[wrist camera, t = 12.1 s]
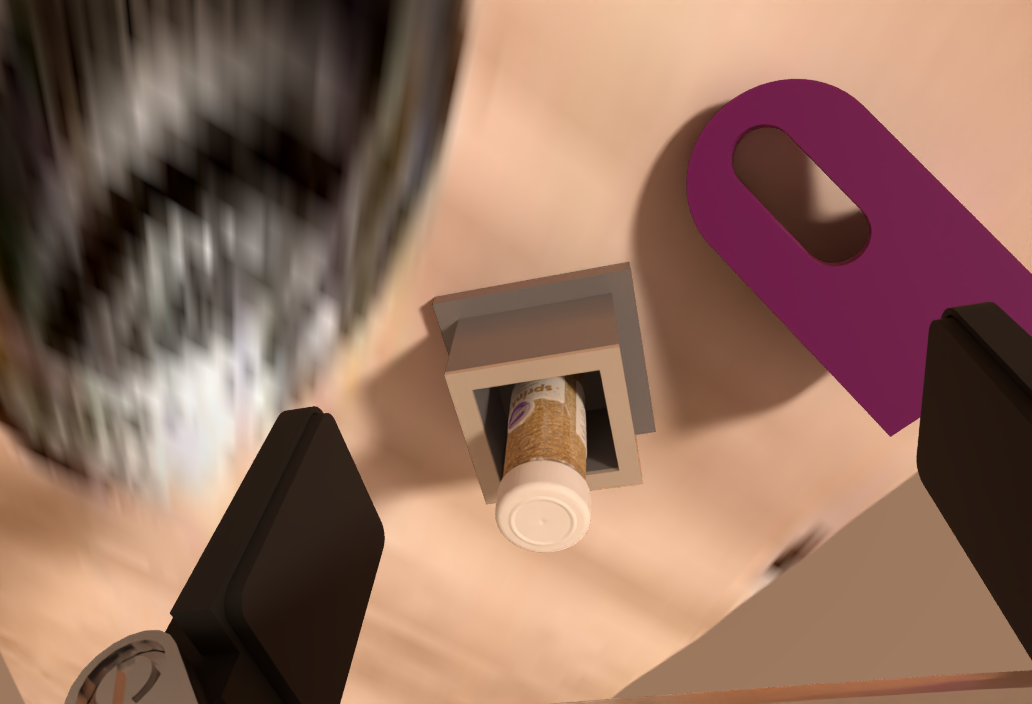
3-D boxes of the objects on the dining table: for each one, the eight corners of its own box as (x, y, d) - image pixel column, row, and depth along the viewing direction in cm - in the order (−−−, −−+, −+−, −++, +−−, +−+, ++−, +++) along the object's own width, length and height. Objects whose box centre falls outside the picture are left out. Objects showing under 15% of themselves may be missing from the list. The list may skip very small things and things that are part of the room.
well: (435, 296, 44) (414, 358, 37) (629, 261, 42) (641, 320, 35) (482, 447, 49) (470, 522, 43) (654, 422, 48) (668, 497, 41)
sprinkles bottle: (532, 326, 43) (519, 472, 32) (598, 355, 44) (609, 508, 32) (501, 382, 45) (478, 536, 34) (565, 408, 46) (563, 569, 35)
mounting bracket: (677, 181, 45) (876, 393, 43) (649, 180, 37) (889, 437, 36) (798, 62, 41) (1023, 290, 39) (795, 34, 33) (1074, 316, 32)
